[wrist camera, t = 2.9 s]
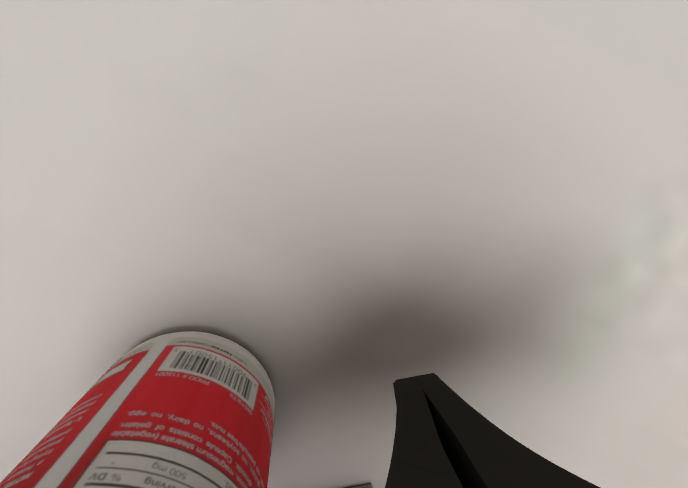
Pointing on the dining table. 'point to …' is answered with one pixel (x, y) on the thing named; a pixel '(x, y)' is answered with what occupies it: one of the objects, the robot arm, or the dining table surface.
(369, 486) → the slate screen
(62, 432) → the pill bottle
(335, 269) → the dining table surface
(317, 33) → the dining table surface
